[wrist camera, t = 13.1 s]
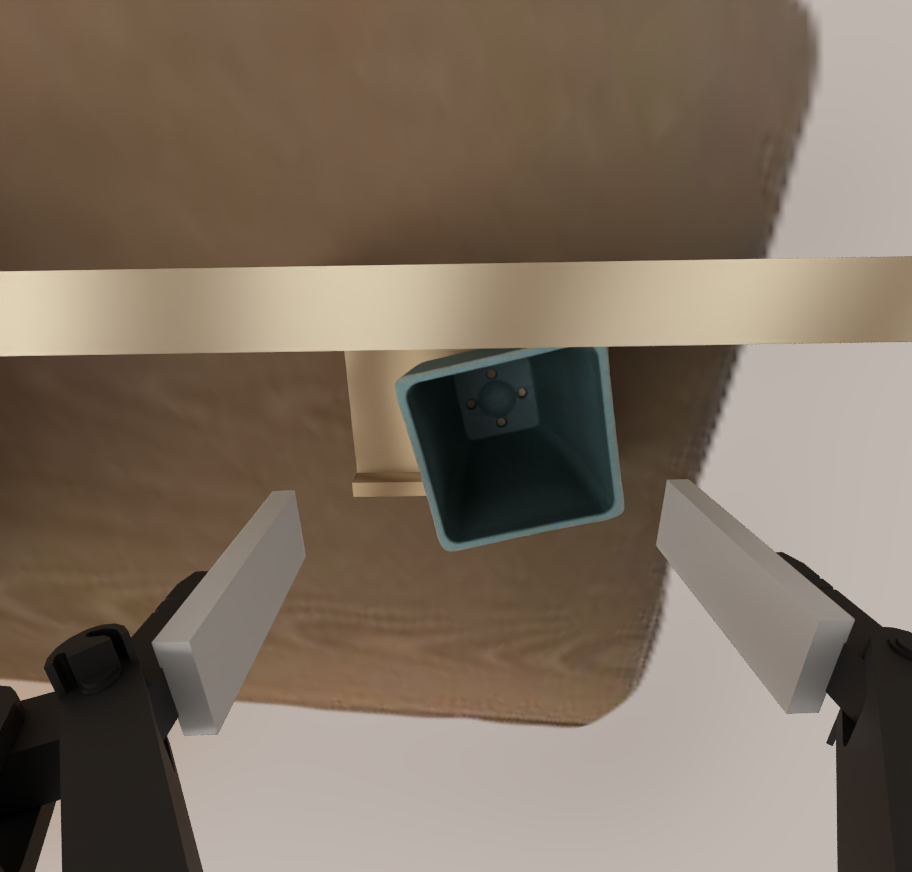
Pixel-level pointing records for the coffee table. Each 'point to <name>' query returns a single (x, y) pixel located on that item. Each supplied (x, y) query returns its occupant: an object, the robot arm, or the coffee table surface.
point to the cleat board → (448, 318)
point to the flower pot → (513, 441)
